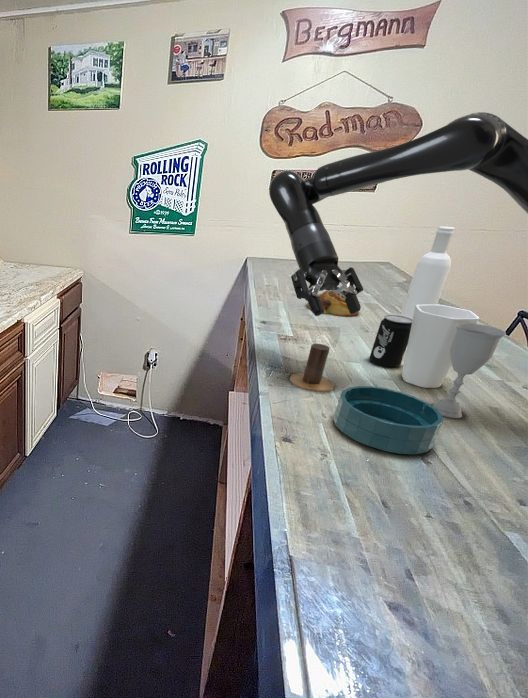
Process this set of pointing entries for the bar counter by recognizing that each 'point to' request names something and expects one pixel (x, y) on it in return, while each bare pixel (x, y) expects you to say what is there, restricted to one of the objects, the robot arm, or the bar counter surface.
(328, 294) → the pastry
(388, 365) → the beverage can
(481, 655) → the bar counter surface
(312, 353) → the brown cylinder
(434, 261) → the bottle
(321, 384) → the coaster
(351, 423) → the bowl
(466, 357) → the chalice
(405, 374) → the cup
